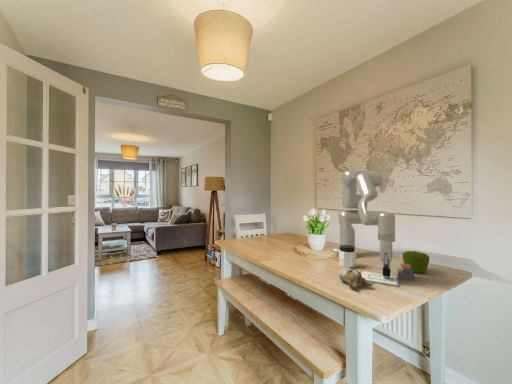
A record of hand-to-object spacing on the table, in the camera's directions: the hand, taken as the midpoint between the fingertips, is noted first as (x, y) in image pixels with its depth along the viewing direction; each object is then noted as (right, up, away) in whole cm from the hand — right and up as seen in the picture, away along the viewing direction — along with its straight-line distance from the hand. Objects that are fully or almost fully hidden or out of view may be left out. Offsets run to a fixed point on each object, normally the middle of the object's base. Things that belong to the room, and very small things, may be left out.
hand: (386, 274), depth 119 cm
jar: (-11, -3, +22) cm, 25 cm away
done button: (+12, -1, +4) cm, 12 cm away
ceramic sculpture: (-19, -3, -6) cm, 21 cm away
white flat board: (-3, -3, +2) cm, 5 cm away
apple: (+23, -3, +13) cm, 27 cm away
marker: (0, -2, 0) cm, 2 cm away
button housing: (+12, -3, +4) cm, 13 cm away
